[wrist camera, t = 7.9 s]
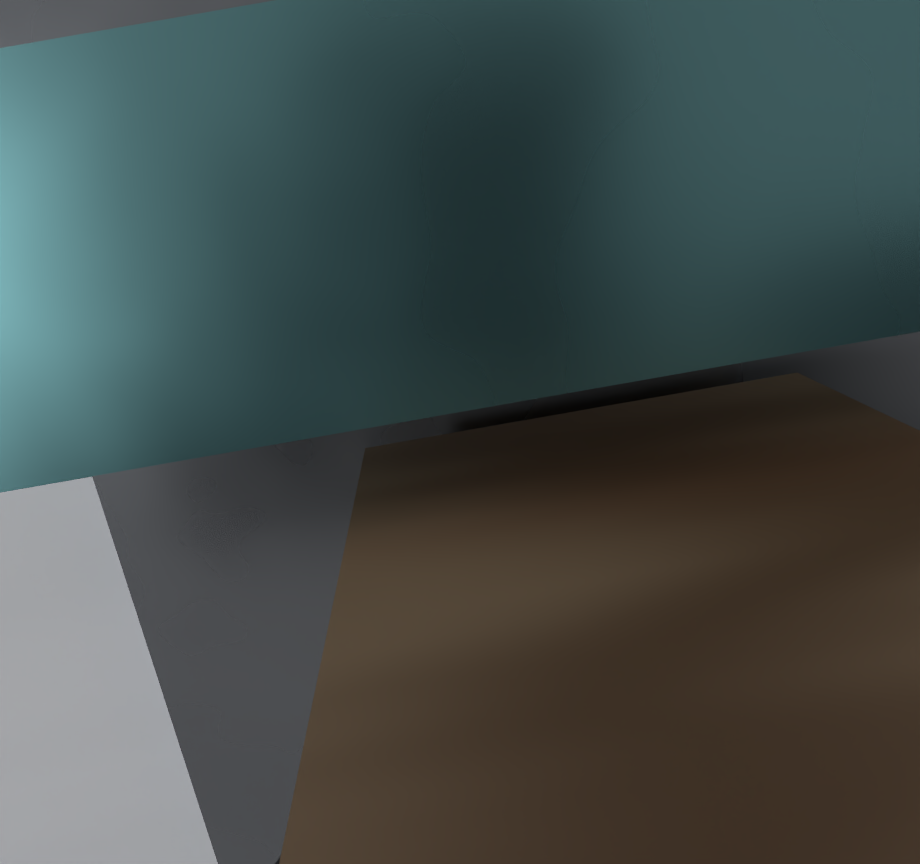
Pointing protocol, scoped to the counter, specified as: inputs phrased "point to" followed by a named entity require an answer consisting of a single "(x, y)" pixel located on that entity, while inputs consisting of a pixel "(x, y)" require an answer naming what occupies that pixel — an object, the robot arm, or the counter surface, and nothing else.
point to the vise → (410, 275)
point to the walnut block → (627, 641)
